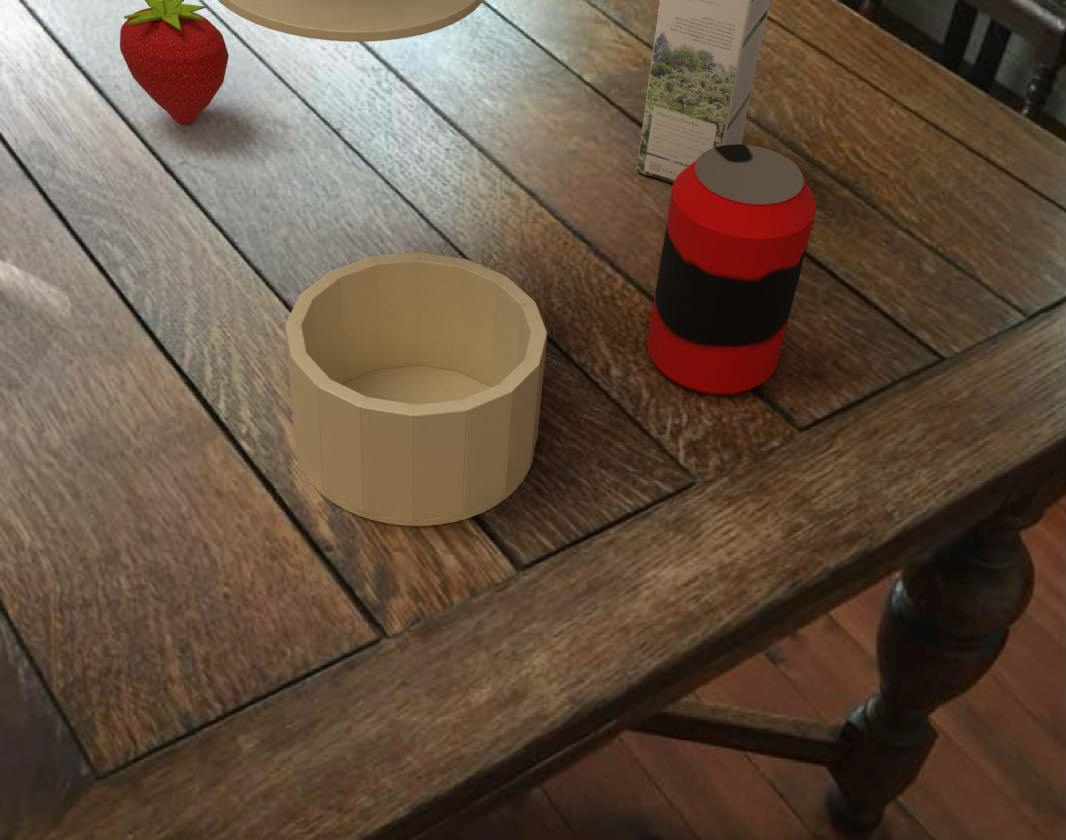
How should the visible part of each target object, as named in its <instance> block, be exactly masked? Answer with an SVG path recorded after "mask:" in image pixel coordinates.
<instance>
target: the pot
mask: <svg viewBox="0 0 1066 840" xmlns="http://www.w3.org/2000/svg"><path fill="white" fill-rule="evenodd" d="M284 330H285V343H286V351H287V352H286V355H287V367H288V378H289V391H290V403H291V417H292V429H293V435H294V441H295V449H296V455H297V459H298V463H299V465H300V467H301V469H302V472H303V474H304V475H305V477H306V479H308V481H309V482H310V484H311V485H312V486H313V488H315V489H316V490H317V492H318V493H320V494H321V495H322V496H323V497H325V498H326V499H327V500H329V501H330V502H331V503H332V504H335V506H338V507H340V508H341V509H343V510H344V511H347V512H349V513H351V514H354V515H356V516H358V517H361V518H365V519H367V520H370V521H374V522H378V523H382V524H383V523H384V524H387V525H396V526H403V527H404V526H405V527H429V526H439V525H445V524H451V523H457V522H460V521H463V520H466V519H467V520H468V519H470V518H473V517H476V516H477V515H480V514H483V513H485V512H487V511H489V510H491V509H492V508H494V507H496V506H497V505H499V504H501V503H502V502H503V501H505V500H506V499H508V498H509V496H511V495H512V494H513V493H514V492H515V491H516V490H517V489H518V488H519V487H520V485H521V484H522V483H523V481H524V480H525V479H526V477H527V475H528V473H529V471H530V469H531V466H532V464H533V461H534V457H535V456H534V455H535V450H536V449H535V448H536V444H537V440H538V434H539V426H540V425H539V424H540V416H541V415H540V414H541V413H540V412H541V403H542V393H543V391H542V390H543V383H544V374H545V373H544V372H545V364H546V363H545V361H546V351H547V341H548V331H547V328H546V325H545V322H544V320H543V317H542V316H541V313H540V310H539V307H538V305H537V302H536V301H535V300H534V299H533V298H531V297H530V295H528V294H527V293H526V292H525V291H524V290H523V289H522V288H521V287H520V286H518V285H517V284H516V283H515V282H514V280H512V279H510V278H509V277H508V276H507V275H505V274H503V273H500V272H498V271H496V270H493V269H492V268H489V267H487V266H484V265H481V264H480V263H477V262H474V261H472V260H470V259H467V258H461V257H454V256H448V255H442V254H437V253H436V254H435V253H428V252H422V251H416V252H415V251H413V252H402V253H389V254H376V255H372V256H368V257H366V258H363V259H359V260H357V261H354V262H350V263H348V264H345V265H341V266H340V267H337V268H333V269H331V270H329V271H328V272H327V273H325V274H324V275H322V276H321V277H320V278H318V280H316V281H315V282H313V283H312V284H311V285H310V286H308V287H307V288H306V289H304V290H303V291H302V292H301V293H300V294H299V295H298V296H297V298H296V301H295V303H294V305H293V307H292V309H291V312H290V313H289V316H288V318H287V320H286V323H285V326H284Z"/></svg>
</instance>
